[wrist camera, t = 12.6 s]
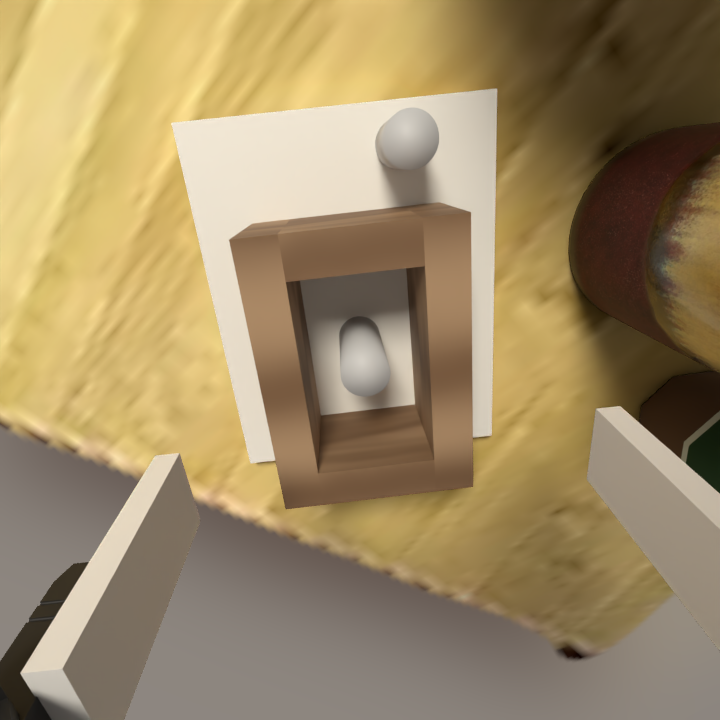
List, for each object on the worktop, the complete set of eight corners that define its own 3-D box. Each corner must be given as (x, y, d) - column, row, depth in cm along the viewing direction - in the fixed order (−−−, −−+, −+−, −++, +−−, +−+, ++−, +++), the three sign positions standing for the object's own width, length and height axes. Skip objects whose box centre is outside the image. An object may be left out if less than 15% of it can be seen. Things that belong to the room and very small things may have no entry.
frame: (252, 223, 24) (229, 239, 19) (439, 202, 24) (470, 212, 19) (294, 445, 30) (285, 509, 24) (447, 427, 30) (473, 486, 24)
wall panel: (177, 124, 23) (123, 109, 17) (490, 91, 23) (545, 65, 17) (252, 454, 31) (233, 523, 25) (486, 427, 31) (523, 489, 25)
